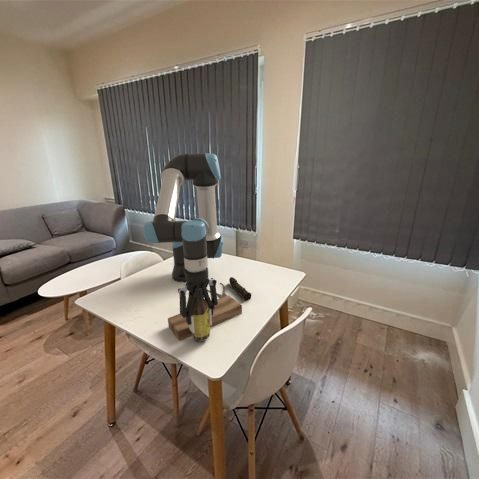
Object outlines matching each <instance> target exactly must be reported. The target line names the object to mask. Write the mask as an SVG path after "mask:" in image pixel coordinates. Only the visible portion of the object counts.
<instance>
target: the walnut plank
mask: <svg viewBox="0 0 479 479" xmlns="http://www.w3.org/2000/svg"><path fill="white" fill-rule="evenodd" d="M227 295H228V296H225V297H222V298H220V297H219V298H217V301H218V304H217V305H215V306H214V307H215V308H214V309H213V315H212V325H211V326H210V328H212V327H214V326H217V325H219V324H221V323H223V322H226V321H228V320H230V319H233V318H235V317H237V316H239V315H243V305H242V303H240V302H238V301H237V300H236V299H234V298H233V297H232V296H231V295H229V294H227ZM167 323H168V329H170V330H171V332H172V333H173V335H174V336H175V338H176V339H177V340H178V341H179V342H180V341H183V340H185V339H188V338H190V337H193V333H192V332H191V331H190V329H189V325H188V324H187V322H186V317H185V318H183V317H182V316H181V314H180V313H177V314H176V315H173V316H171V317H168V318H167Z"/></svg>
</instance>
